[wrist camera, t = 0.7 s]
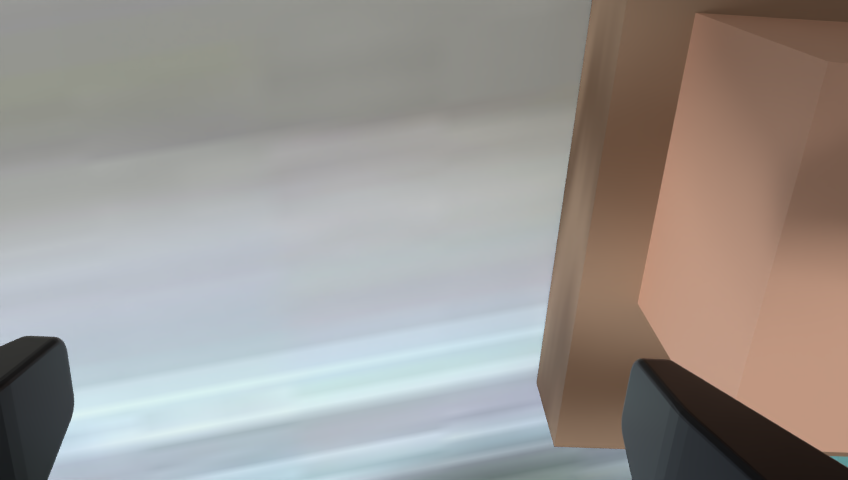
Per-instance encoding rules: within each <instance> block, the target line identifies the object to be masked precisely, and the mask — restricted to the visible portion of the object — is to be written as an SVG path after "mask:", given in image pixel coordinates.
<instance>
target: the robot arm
mask: <svg viewBox="0 0 848 480" xmlns="http://www.w3.org/2000/svg"><path fill="white" fill-rule="evenodd" d="M73 409H74V393H73V387H72V380H71V373H70V367H69V360H68V353H67V348H66V346H65V344H64V342H63V341H62V340H61V339H60V338H57V337H44V336H24V337H21V338H19V339H16V340H14V341H12V342H9V343H7V344H5V345H2V346H0V480H48V477H49V475H50V472H51V470H52V467H53V464H54V462H55V459H56V457H57V454H58V452H59V449H60V446H61V444H62V441H63V439H64V436H65V434H66V431H67V428H68V426H69V423H70V421H71V418H72V414H73ZM621 425H622V436H623V440H624V445H625V449H626V454H627V458H628V463H629V467H630V472H631V476H632V480H848V467H846V466H845V465H843V464H841V463H840V462H838V461H836V460H835V459H833V458H832V457H830V456H828V455H827V454H825V453H823V452H822V451H820V450H818V449H817V448H815V447H813V446H812V445H810V444H808V443H807V442H805V441H804V440H802V439H800V438H799V437H797V436H795V435H794V434H792V433H790V432H789V431H787V430H785V429H784V428H782V427H780V426H779V425H777V424H776V423H774V422H772V421H771V420H769V419H767V418H766V417H764V416H762V415H761V414H759V413H757V412H756V411H754V410H752V409H751V408H749V407H748V406H746V405H744V404H743V403H741V402H739V401H738V400H736V399H734V398H733V397H731V396H729V395H728V394H726V393H724V392H723V391H721V390H720V389H718V388H716V387H715V386H713V385H711V384H710V383H708V382H706V381H705V380H703V379H701V378H700V377H698V376H697V375H695V374H693V373H692V372H690V371H688V370H687V369H685V368H683V367H682V366H680V365H678V364H677V363H675V362H673V361H672V360H668V359H653V358H640V359H637V360H636V361H635V362H634V364H633V366H632V368H631V372H630V377H629V382H628V387H627V392H626V397H625V402H624V407H623V412H622V422H621Z"/></svg>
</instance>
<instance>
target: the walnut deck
mask: <svg viewBox="0 0 848 480" xmlns="http://www.w3.org/2000/svg"><path fill="white" fill-rule="evenodd" d="M695 13H708V14H724V15H740V16H756V17H772V18H788V19H804V20H820V21H836V22H848V0H592V6H591V13H590V20H589V26H588V33H587V40H586V47H585V54H584V61H583V68H582V74H581V81H580V88H579V95H578V102H577V109H576V116H575V123H574V129H573V136H572V143H571V150H570V157H569V164H568V171H567V178H566V184H565V191H564V198H563V205H562V212H561V219H560V226H559V232H558V239H557V246H556V253H555V260H554V267H553V274H552V281H551V287H550V294H549V301H548V308H547V315H546V322H545V329H544V336H543V342H542V349H541V356H540V363H539V370H538V377H537V386H538V390H539V393H540V397H541V401H542V404H543V408H544V411H545V415H546V419H547V422H548V426H549V429H550V433H551V437H552V440H553V444H554V447H581V448H610V449H625V445H624V440H623V436H622V425H621V422H622V412H623V407H624V402H625V397H626V392H627V387H628V382H629V377H630V372H631V368H632V366H633V364H634V362H635V361H636V360H637V359H640V358H653V359H668V360H670V358H669V356H668V354H667V353H666V351H665V349H664V348H663V346H662V344H661V342H660V341H659V339H658V337H657V336H656V334H655V332H654V331H653V329H652V327H651V325H650V324H649V322H648V320H647V319H646V317H645V315H644V313H643V312H642V310H641V308H640V307H639V305H638V299H639V294H640V289H641V284H642V279H643V274H644V269H645V264H646V259H647V254H648V249H649V244H650V239H651V234H652V229H653V224H654V219H655V214H656V209H657V204H658V199H659V194H660V189H661V184H662V179H663V174H664V169H665V164H666V159H667V154H668V149H669V144H670V139H671V133H672V128H673V123H674V118H675V113H676V108H677V103H678V98H679V93H680V88H681V83H682V78H683V73H684V68H685V63H686V58H687V53H688V48H689V43H690V38H691V33H692V28H693V23H694V18H695ZM823 453H825V454H827V455H828V456H842V457H848V453H845V452H823Z"/></svg>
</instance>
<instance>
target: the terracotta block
mask: <svg viewBox="0 0 848 480" xmlns="http://www.w3.org/2000/svg"><path fill="white" fill-rule="evenodd" d="M638 305H639V307H640V308H641V310H642V312H643V313H644V315H645V317H646V319H647V320H648V322H649V324H650V325H651V327H652V329H653V331H654V332H655V334H656V336H657V337H658V339H659V341H660V342H661V344H662V346H663V348H664V349H665V351H666V353H667V354H668V356H669V358H670V360H672V361H673V362H675V363H677V364H678V365H680V366H682V367H683V368H685V369H687V370H688V371H690V372H692V373H693V374H695V375H697V376H698V377H700V378H701V379H703V380H705V381H706V382H708V383H710V384H711V385H713V386H715V387H716V388H718V389H720V390H721V391H723V392H724V393H726V394H728V395H729V396H731V397H733V398H734V399H736V400H738V401H739V402H741V403H743V404H744V405H746V406H748V407H749V408H751V409H752V410H754V411H756V412H757V413H759V414H761V415H762V416H764V417H766V418H767V419H769V420H771V421H772V422H774V423H776V424H777V425H779V426H780V427H782V428H784V429H785V430H787V431H789V432H790V433H792V434H794V435H795V436H797V437H799V438H800V439H802V440H804V441H805V442H807V443H808V444H810V445H812V446H813V447H815V448H817V449H818V450H820V451H822V452H845V453H848V22H836V21H820V20H804V19H788V18H772V17H756V16H740V15H724V14H708V13H695V18H694V23H693V28H692V33H691V38H690V43H689V48H688V53H687V58H686V63H685V68H684V73H683V78H682V83H681V88H680V93H679V98H678V103H677V108H676V113H675V118H674V123H673V128H672V133H671V139H670V144H669V149H668V154H667V159H666V164H665V169H664V174H663V179H662V184H661V189H660V194H659V199H658V204H657V209H656V214H655V219H654V224H653V229H652V234H651V239H650V244H649V249H648V254H647V259H646V264H645V269H644V274H643V279H642V284H641V289H640V294H639V299H638Z"/></svg>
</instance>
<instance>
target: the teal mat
mask: <svg viewBox="0 0 848 480" xmlns="http://www.w3.org/2000/svg"><path fill="white" fill-rule="evenodd" d="M830 457H832V458H833V459H835V460H836V461H838V462H840V463H841V464H843V465H845V466H846V467H848V457H842V456H830Z"/></svg>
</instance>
